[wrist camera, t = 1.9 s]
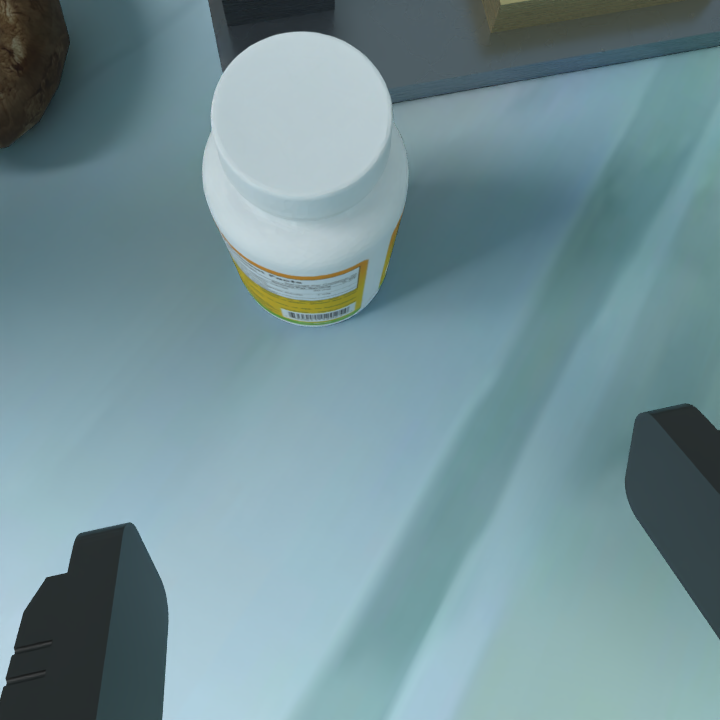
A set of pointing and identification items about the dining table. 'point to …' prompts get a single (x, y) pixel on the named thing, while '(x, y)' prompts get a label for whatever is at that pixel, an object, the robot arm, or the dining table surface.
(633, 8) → the shaft bench
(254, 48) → the supplement bottle
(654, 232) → the dining table surface
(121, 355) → the dining table surface
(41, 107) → the brown rough round lump
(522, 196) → the dining table surface
